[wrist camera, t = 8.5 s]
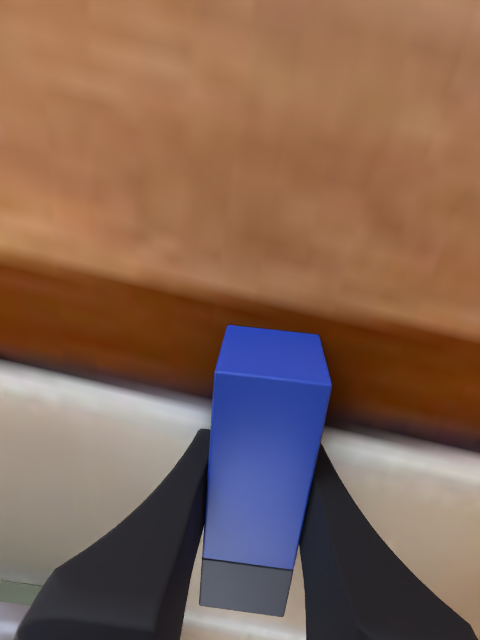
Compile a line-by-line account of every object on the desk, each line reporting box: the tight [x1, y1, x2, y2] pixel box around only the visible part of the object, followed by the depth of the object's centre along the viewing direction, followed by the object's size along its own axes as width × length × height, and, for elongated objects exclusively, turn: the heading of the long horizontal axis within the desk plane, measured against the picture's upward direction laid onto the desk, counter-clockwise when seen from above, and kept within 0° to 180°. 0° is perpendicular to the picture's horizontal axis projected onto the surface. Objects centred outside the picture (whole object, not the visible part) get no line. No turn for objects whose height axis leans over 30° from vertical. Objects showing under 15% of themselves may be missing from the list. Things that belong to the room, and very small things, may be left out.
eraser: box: [199, 325, 332, 617], centre depth 13 cm, size 10×3×3 cm, turn 175°
